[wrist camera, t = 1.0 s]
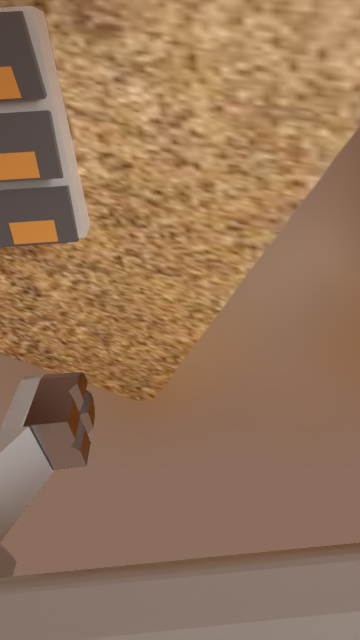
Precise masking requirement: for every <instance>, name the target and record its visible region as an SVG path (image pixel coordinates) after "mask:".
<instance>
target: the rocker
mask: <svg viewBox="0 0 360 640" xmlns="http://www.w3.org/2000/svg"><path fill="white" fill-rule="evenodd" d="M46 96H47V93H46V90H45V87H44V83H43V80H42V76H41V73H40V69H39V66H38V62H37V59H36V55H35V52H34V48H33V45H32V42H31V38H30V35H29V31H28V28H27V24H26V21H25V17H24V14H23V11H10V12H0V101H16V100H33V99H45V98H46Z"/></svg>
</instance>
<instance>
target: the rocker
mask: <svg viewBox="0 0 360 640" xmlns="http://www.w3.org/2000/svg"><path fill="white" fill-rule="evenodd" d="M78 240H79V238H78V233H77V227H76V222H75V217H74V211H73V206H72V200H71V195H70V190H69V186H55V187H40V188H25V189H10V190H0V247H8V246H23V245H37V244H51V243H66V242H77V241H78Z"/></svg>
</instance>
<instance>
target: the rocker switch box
mask: <svg viewBox="0 0 360 640" xmlns="http://www.w3.org/2000/svg"><path fill="white" fill-rule="evenodd" d="M10 11H23V14H24V17H25V21H26V24H27V28H28V31H29V35H30V38H31V42H32V45H33V48H34V52H35V55H36V59H37V62H38V66H39V69H40V73H41V76H42V80H43V83H44V87H45V90H46V93H47V96H46V98H45V99H33V100H16V101H0V113H12V112H28V111H44V110H48V111H51V114H52V120H53V125H54V130H55V135H56V141H57V146H58V151H59V156H60V161H61V167H62V172H63V177H64V178H58V179H43V180H27V181H12V182H0V190H10V189H25V188H40V187H55V186H69V190H70V195H71V200H72V206H73V211H74V217H75V222H76V227H77V233H78V238H85V237H86V235H87V232H88V230H89V228H90V221H89V217H88V212H87V208H86V203H85V198H84V194H83V189H82V185H81V180H80V175H79V171H78V166H77V162H76V157H75V152H74V148H73V143H72V139H71V134H70V129H69V125H68V120H67V116H66V111H65V106H64V102H63V97H62V93H61V88H60V83H59V79H58V74H57V70H56V65H55V60H54V56H53V51H52V47H51V42H50V37H49V33H48V28H47V24H46V19H45V14H44V11H42V10H39V9H37V8H35V7H33V6H17V7H0V12H10Z"/></svg>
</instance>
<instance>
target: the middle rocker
mask: <svg viewBox="0 0 360 640" xmlns="http://www.w3.org/2000/svg"><path fill="white" fill-rule="evenodd" d="M58 178H64V177H63V172H62V167H61V161H60V156H59V151H58V146H57V141H56V135H55V130H54V125H53V120H52V114H51V111H48V110H44V111H28V112H12V113H0V182H12V181H27V180H43V179H58Z"/></svg>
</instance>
